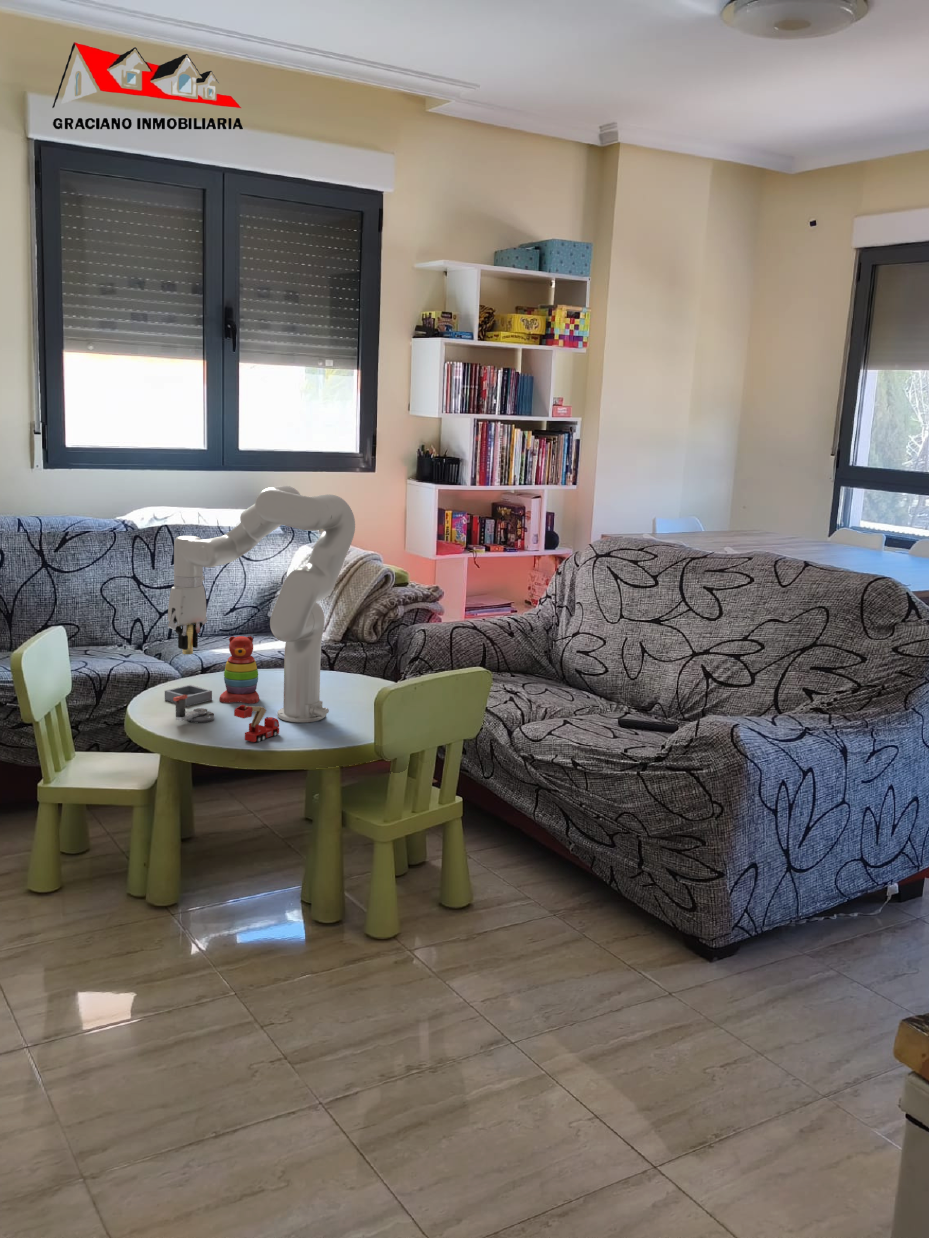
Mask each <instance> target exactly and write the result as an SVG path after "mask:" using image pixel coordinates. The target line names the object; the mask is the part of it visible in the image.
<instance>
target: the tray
mask: <svg viewBox="0 0 929 1238" xmlns="http://www.w3.org/2000/svg"><path fill="white" fill-rule="evenodd" d="M181 695H187V698H186V699H185V707H189V706H193V705H197V704H201V703H205V702H209V701H212V700H213V690H211V689H206V688H204V687H203V688H202V687H199V686H195V685H192V684H188V685H182V686H180V687H175V688H171V689H166V690H164V700H165V701H168V702H170V703H175V704H176V701H173V698H174V697H177V696H181Z"/></svg>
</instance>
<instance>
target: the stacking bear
mask: <svg viewBox="0 0 929 1238" xmlns="http://www.w3.org/2000/svg"><path fill="white" fill-rule="evenodd" d="M228 641H229V645H228V650H229V653H230V655H231V656H229V657H228V658H227V661H226V663H225V667H224V668H225V669H224V672H223V676H224V677H223V680H224V684H225V688H226V690H225V691H223V692H222V693H221V694H220V696H219V698H218V700H219V702H220V703H225V704H228V703H242V704H243V703H244V704H251V705H252V704H257V703H259V701H260V696H259V693H258V691H257V687H258V681H259V670H258V668H257V667H258V666H257V662H256V660H255V658H254V656H253V655H252V654H253V651H254V643H253V642H254V637H252V636H250V635H249V636H243V635H242V636H230V637H229V639H228Z"/></svg>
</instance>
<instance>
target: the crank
mask: <svg viewBox="0 0 929 1238" xmlns="http://www.w3.org/2000/svg"><path fill="white" fill-rule="evenodd" d="M186 698H187V695H181V696H177V697H174V698H173V701H176V703H175V718H176V719H175V720H176V721H180V722H182V721H187V719H190V718H193V717H197V716H204V715H207V711H208V709H207V708H202V707H201V708H194V709H193V710H190V711H187V712H186V706H185V699H186Z"/></svg>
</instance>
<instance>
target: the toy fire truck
mask: <svg viewBox="0 0 929 1238" xmlns="http://www.w3.org/2000/svg"><path fill="white" fill-rule="evenodd" d="M253 712H255V714H254V716H253V719H252V722H249V723H248V730H247V731H246V732H244V740H245V741H246V742H247V741H248V742H251V743H256V742H257V743H260V742H261V741H265V740H266V739H269V738H270V737H277V736H278V735H279V734H280V721H279V719H278V718H276V717H271V716H270V717H269V716H266V717H265V718H264V716H265V714H266V713H267V709H266V708H265V707H264V706H260V705H259V706H253V705H251V706H250V705H246V704H241V705H239V706H237V707H236V708H234V712H233V713H234V714H233V716H234V717H236V718H240V719H247V718H251V717H252V715H253ZM263 718H264V721H263V722H264V725H261V724H260V723H261V721H262V720H263Z"/></svg>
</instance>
